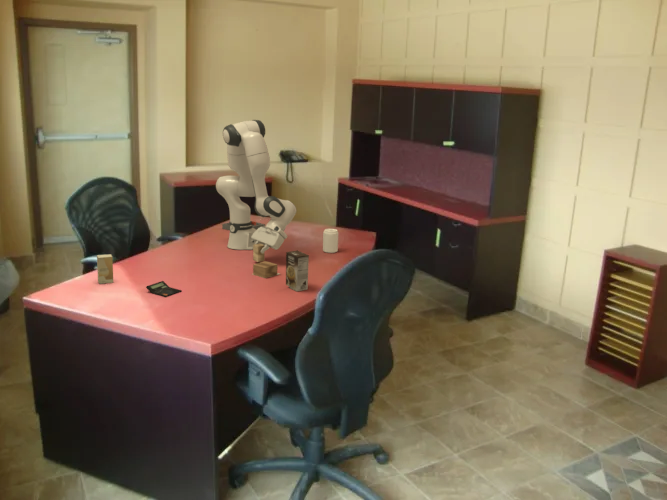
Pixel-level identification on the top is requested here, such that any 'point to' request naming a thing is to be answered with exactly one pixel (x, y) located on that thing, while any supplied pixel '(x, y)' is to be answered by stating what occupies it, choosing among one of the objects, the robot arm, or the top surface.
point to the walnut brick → (265, 269)
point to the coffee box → (297, 270)
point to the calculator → (162, 289)
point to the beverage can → (330, 240)
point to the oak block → (258, 253)
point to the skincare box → (105, 268)
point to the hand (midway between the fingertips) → (257, 251)
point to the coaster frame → (258, 225)
